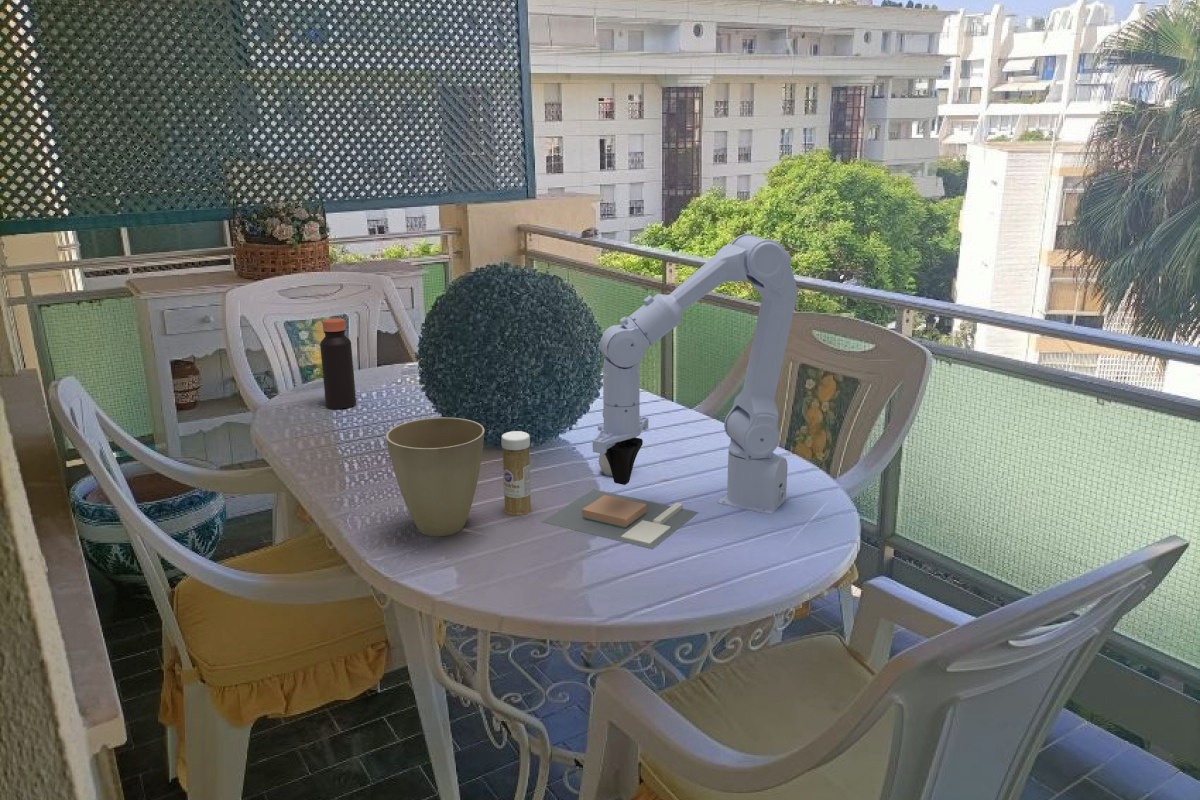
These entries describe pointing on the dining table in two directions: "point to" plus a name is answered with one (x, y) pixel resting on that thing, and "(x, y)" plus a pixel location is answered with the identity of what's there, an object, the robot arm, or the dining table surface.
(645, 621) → the dining table surface
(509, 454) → the sprinkles bottle
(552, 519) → the mat
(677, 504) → the turner
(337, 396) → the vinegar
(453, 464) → the plant pot
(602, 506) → the tile
